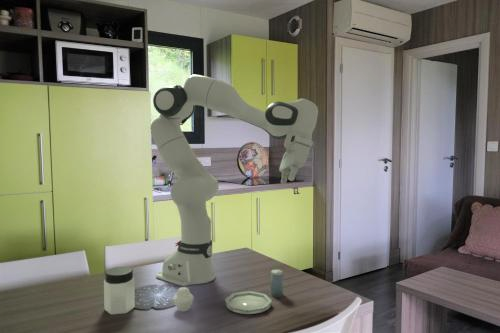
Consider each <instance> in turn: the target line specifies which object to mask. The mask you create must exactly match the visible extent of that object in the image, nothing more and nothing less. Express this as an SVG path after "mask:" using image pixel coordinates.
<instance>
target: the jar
mask: <svg viewBox="0 0 500 333" xmlns="http://www.w3.org/2000/svg"><path fill="white" fill-rule="evenodd" d="M135 287H136V286H135V278H134V269H133V268H132V267H129V266H115V267H112V268H109V269H106V270H105V272H104V280H103V297H104V298H103V304H104V305H103V306H104V311H106V312H107V313H108V314H110V315H120V314H121V315H123V314H127V313H129V312H130V311H131V310H133V309H134V308H135V306H136V305H135V303H136V302H135V301H136V298H135V297H136V295H135V293H136V292H135V291H136V290H135Z"/></svg>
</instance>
